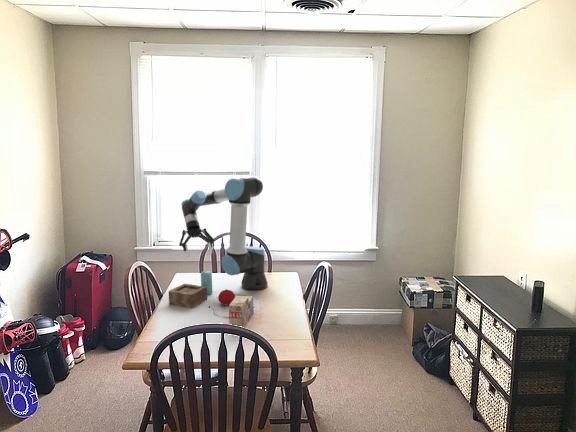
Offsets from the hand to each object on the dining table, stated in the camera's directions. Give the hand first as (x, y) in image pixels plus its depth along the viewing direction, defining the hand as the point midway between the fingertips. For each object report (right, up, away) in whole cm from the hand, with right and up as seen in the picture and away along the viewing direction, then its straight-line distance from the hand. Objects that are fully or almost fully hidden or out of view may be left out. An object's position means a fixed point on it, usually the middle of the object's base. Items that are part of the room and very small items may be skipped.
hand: (199, 254), depth 285 cm
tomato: (+18, -24, -23) cm, 38 cm away
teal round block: (+5, -21, -6) cm, 23 cm away
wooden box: (-2, -23, -20) cm, 31 cm away
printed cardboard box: (+28, -29, -47) cm, 62 cm away
